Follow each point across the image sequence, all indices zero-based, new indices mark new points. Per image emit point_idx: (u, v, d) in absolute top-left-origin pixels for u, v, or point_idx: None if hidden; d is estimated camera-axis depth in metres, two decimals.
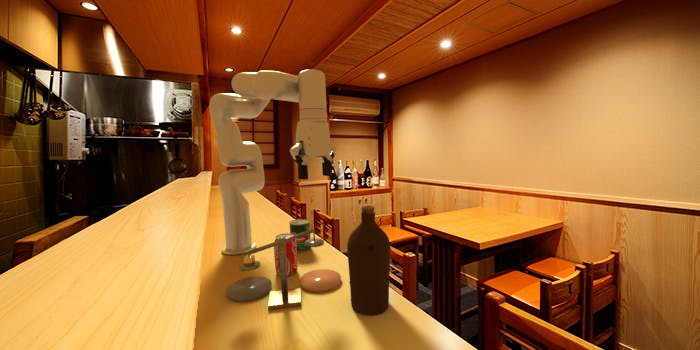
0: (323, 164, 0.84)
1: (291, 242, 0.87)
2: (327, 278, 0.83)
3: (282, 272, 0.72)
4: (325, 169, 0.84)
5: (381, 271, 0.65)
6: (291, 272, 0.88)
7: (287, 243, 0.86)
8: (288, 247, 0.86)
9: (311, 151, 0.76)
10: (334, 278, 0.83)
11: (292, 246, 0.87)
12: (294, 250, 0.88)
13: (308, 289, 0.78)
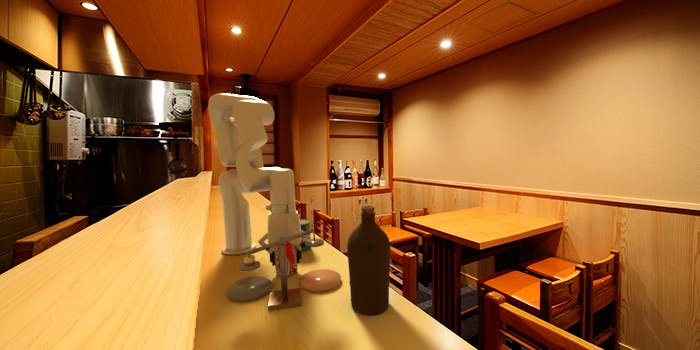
0: None
1: None
2: (327, 278, 0.83)
3: (282, 272, 0.72)
4: (274, 258, 0.89)
5: (381, 271, 0.65)
6: (291, 272, 0.88)
7: (287, 243, 0.86)
8: (288, 247, 0.86)
9: None
10: (334, 278, 0.83)
11: (292, 246, 0.87)
12: (294, 250, 0.88)
13: (308, 289, 0.78)
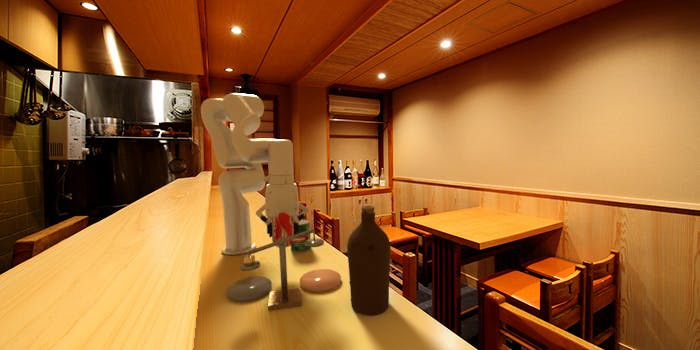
0: (271, 226, 0.88)
1: None
2: (327, 278, 0.83)
3: (282, 272, 0.72)
4: None
5: (381, 271, 0.65)
6: (288, 244, 0.87)
7: (285, 214, 0.86)
8: (285, 218, 0.86)
9: None
10: (334, 278, 0.83)
11: (289, 218, 0.86)
12: (291, 222, 0.87)
13: (308, 289, 0.78)
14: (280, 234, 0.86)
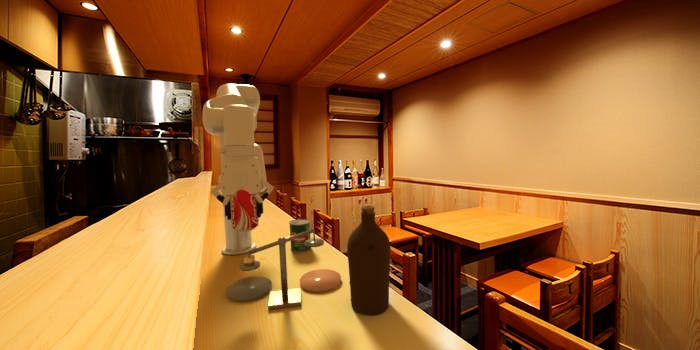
0: (229, 206, 0.75)
1: None
2: (327, 278, 0.83)
3: (282, 272, 0.72)
4: (230, 211, 0.76)
5: (381, 271, 0.65)
6: (249, 227, 0.75)
7: (244, 192, 0.74)
8: (245, 197, 0.74)
9: None
10: (334, 278, 0.83)
11: (250, 196, 0.74)
12: (253, 201, 0.75)
13: (308, 289, 0.78)
14: (239, 215, 0.74)
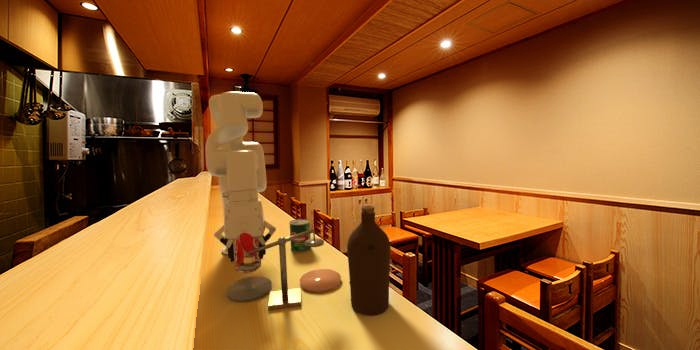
0: None
1: None
2: (327, 278, 0.83)
3: (282, 272, 0.72)
4: None
5: (381, 271, 0.65)
6: None
7: (247, 236, 0.75)
8: (248, 240, 0.75)
9: None
10: (334, 278, 0.83)
11: (253, 239, 0.76)
12: (256, 244, 0.76)
13: (308, 289, 0.78)
14: (242, 258, 0.75)
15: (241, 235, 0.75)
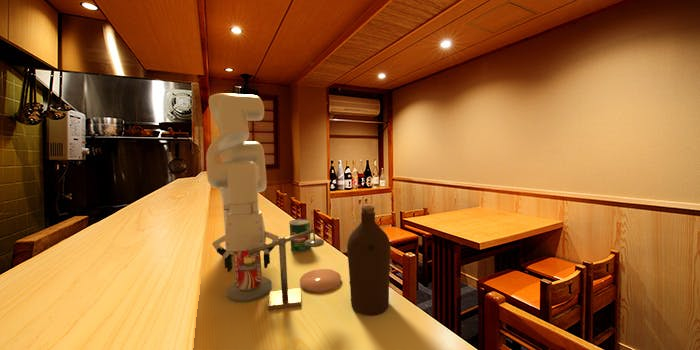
0: (229, 259, 0.77)
1: None
2: (327, 278, 0.83)
3: (282, 272, 0.72)
4: (230, 263, 0.78)
5: (381, 271, 0.65)
6: (253, 286, 0.77)
7: None
8: None
9: None
10: (334, 278, 0.83)
11: None
12: None
13: (308, 289, 0.78)
14: (243, 275, 0.76)
15: (242, 253, 0.75)
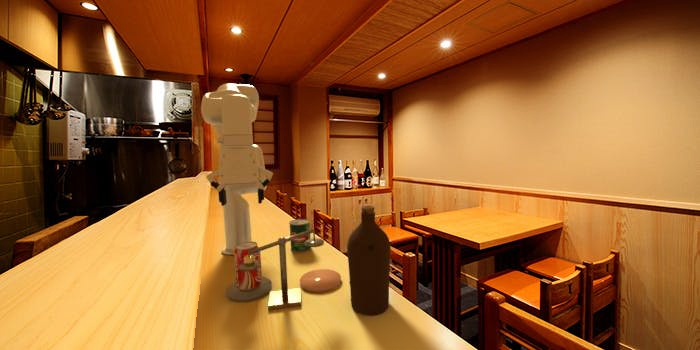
0: (223, 193, 0.77)
1: None
2: (327, 278, 0.83)
3: (282, 272, 0.72)
4: (224, 198, 0.77)
5: (381, 271, 0.65)
6: (253, 286, 0.77)
7: None
8: None
9: None
10: (334, 278, 0.83)
11: None
12: None
13: (308, 289, 0.78)
14: (243, 275, 0.76)
15: (242, 253, 0.75)
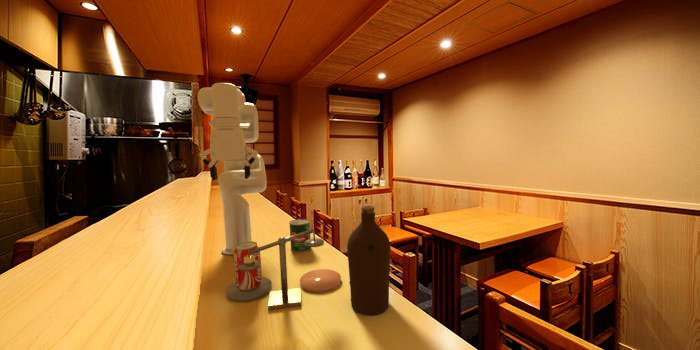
0: (214, 169, 0.88)
1: None
2: (327, 278, 0.83)
3: (282, 272, 0.72)
4: (215, 173, 0.89)
5: (381, 271, 0.65)
6: (253, 286, 0.77)
7: None
8: None
9: None
10: (334, 278, 0.83)
11: None
12: None
13: (308, 289, 0.78)
14: (243, 276, 0.76)
15: (242, 253, 0.75)
